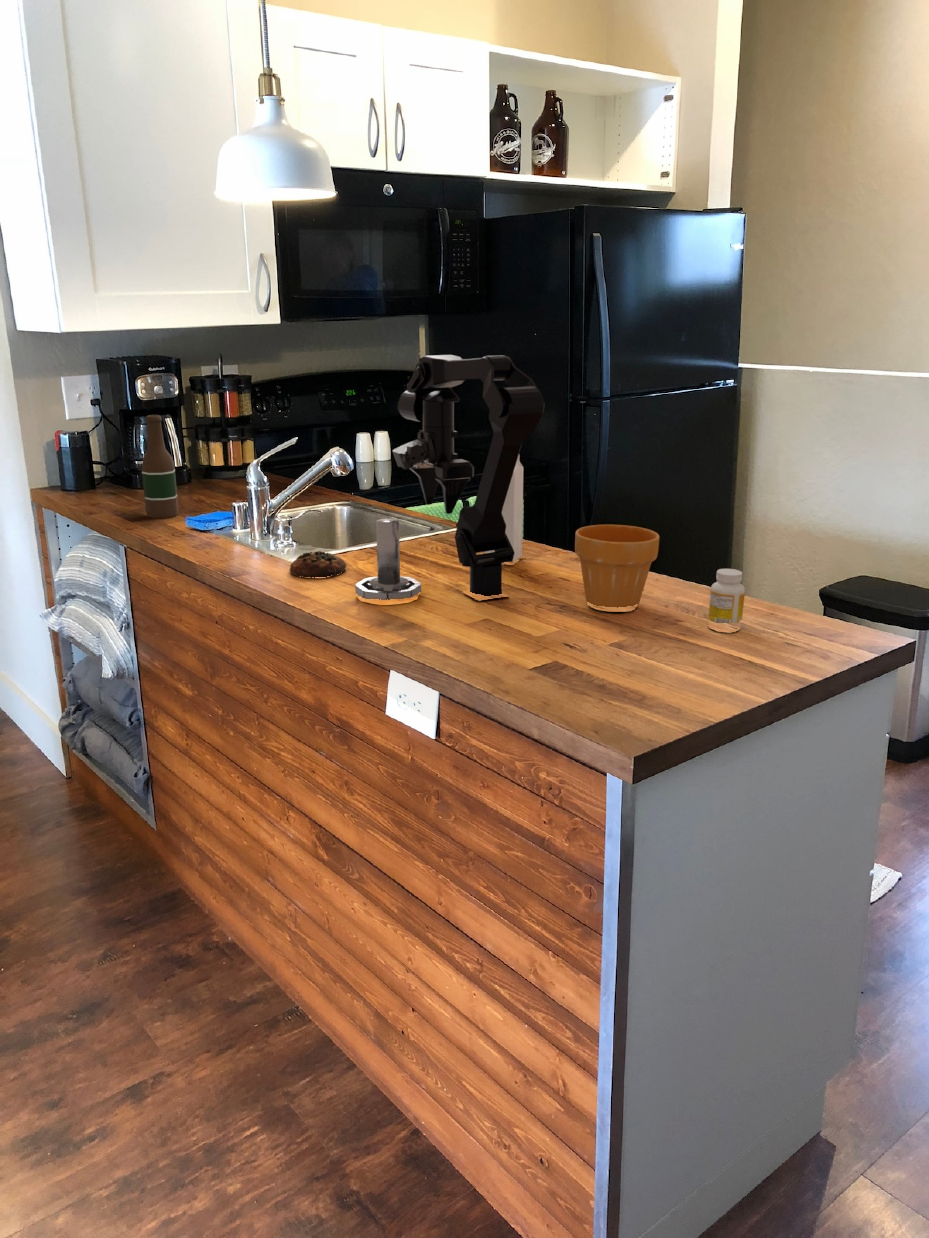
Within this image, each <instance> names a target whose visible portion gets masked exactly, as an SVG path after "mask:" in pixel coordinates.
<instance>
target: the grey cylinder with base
mask: <svg viewBox="0 0 929 1238" xmlns="http://www.w3.org/2000/svg"><path fill="white" fill-rule="evenodd" d="M375 522H376V525H375V526H376V557H377V558H376V565H377V569H376V570H377V576H376V577H377V578H373V579H370V580H368V583H367V589H368V590H375V591H384V592H390V591H398V590H406V589H409V588H410V587H411V580H409V579H406V578H403V577H404V576H403V577H400V576H401V558H400V557H401V556H400V553H401V550H400V548H401V547H400V520H399V519H396V518H380V519H377V520H376V521H375Z"/></svg>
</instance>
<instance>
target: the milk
mask: <svg viewBox="0 0 929 1238" xmlns="http://www.w3.org/2000/svg"><path fill="white" fill-rule="evenodd" d="M520 457H521V456H520V454H519V455H518V459H517V462H516V465H515V469H514V472H513V475H512V479H511V482H510V486H509V489H508V492H507V496H506V499H505V502H504V506H503V509H502V515H503V518H504V521H505V523H506V531H505V533H506V535H507V537H508V539H509V541H510V544H511V546H512V548H513V550H514V557H513V561H512V562H514V561H516V560H517V559H518V558H520V557H521V556H523V555H522V554H523V551H522V550H523V549H522V548H523V511H524V508H523V507H524V504H523V502H524V466H523V464H522V463H521V461H520ZM492 552H495V551H494V550H493V551H486V552H484V554H486V553H492Z"/></svg>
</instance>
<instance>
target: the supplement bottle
mask: <svg viewBox="0 0 929 1238" xmlns="http://www.w3.org/2000/svg"><path fill="white" fill-rule="evenodd" d="M715 577H716V582H714V583H712V585H711V587H710V594H709V595H710V596H709V606H708V607H709V608H708V619H710V620H711V621H713V622H715V623H738V622H740V621H741V620H742V621H743V614H744V603H745V595H746V588H745V586H744V585H743V584H742V583H741V582H742V581H743V572H742V571H741V570H738V569H734V568H719V569H717V570H716V576H715ZM708 619H707V620H708Z"/></svg>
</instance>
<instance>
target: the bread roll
mask: <svg viewBox="0 0 929 1238" xmlns="http://www.w3.org/2000/svg"><path fill="white" fill-rule="evenodd" d="M289 566H290V568H289V572H290V573H291V575H294V576H296V575H297V576H296V577H299V576H301V577H300V578H304V577H311V578H312V577H314V578H315V577H327V576H331V575H334V576H335V575H337V574H339V573H341V572H343V573H344V570H345V568H347V563H346V561H344V559H342V558H341V557H340V556H337V555H335V554H332V553H331V552H326V553H325V551H317V550H316V551H314V552H313V551H309V552H304V553H302V554H300V555H299V556H298V557H297V558H296V559H295V560H294V561H292V563H290V565H289ZM345 571H346V570H345ZM341 574H342V573H341ZM339 575H340V574H339ZM337 576H338V575H337ZM311 578H310V579H311Z"/></svg>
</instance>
